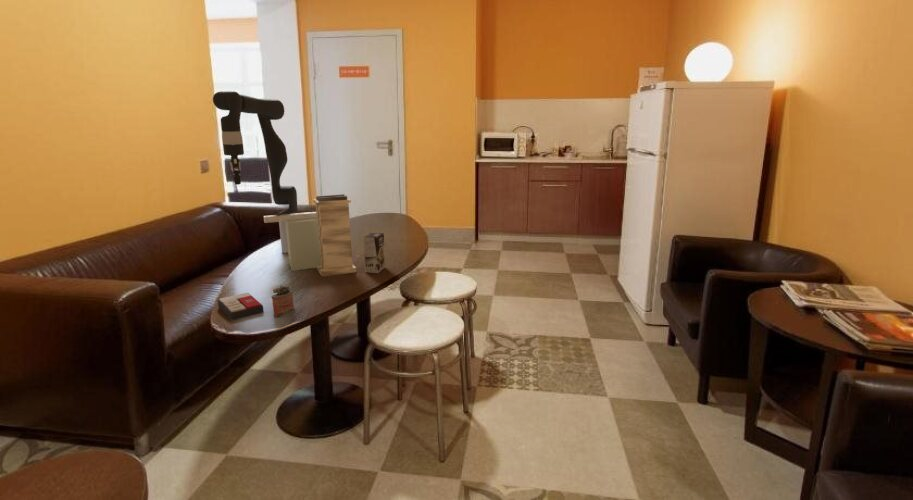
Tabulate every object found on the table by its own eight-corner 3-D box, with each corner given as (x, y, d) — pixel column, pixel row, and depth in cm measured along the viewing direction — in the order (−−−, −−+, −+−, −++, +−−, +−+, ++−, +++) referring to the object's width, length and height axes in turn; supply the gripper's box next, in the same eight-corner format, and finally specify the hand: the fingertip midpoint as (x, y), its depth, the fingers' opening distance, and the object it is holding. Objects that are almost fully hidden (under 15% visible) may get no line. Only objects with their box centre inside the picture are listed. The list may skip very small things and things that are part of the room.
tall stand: (317, 269, 224) (311, 195, 215) (350, 265, 230) (346, 193, 221) (322, 276, 214) (315, 199, 206) (356, 272, 221) (351, 196, 212)
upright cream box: (289, 264, 232) (284, 218, 226) (324, 260, 238) (320, 215, 232) (292, 270, 223) (287, 222, 217) (328, 266, 229) (324, 219, 224)
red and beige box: (230, 311, 168) (217, 297, 179) (231, 323, 169) (218, 308, 180) (263, 303, 175) (248, 290, 186) (264, 314, 176) (249, 301, 187)
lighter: (290, 309, 179) (288, 282, 176) (297, 311, 177) (294, 284, 174) (271, 316, 172) (268, 289, 170) (277, 318, 170) (274, 290, 168)
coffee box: (378, 273, 219) (377, 237, 214) (365, 272, 220) (363, 236, 216) (385, 267, 227) (384, 232, 223) (372, 266, 228) (370, 232, 224)
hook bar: (264, 221, 219) (262, 207, 218) (319, 216, 229) (318, 202, 227) (264, 222, 217) (263, 208, 215) (321, 217, 226) (319, 203, 225)
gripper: (222, 142, 207) (227, 181, 211) (222, 144, 194) (228, 185, 198) (242, 142, 210) (246, 180, 214) (243, 143, 197) (248, 184, 201)
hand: (237, 183), depth 206 cm, fingers open, 8 cm apart
